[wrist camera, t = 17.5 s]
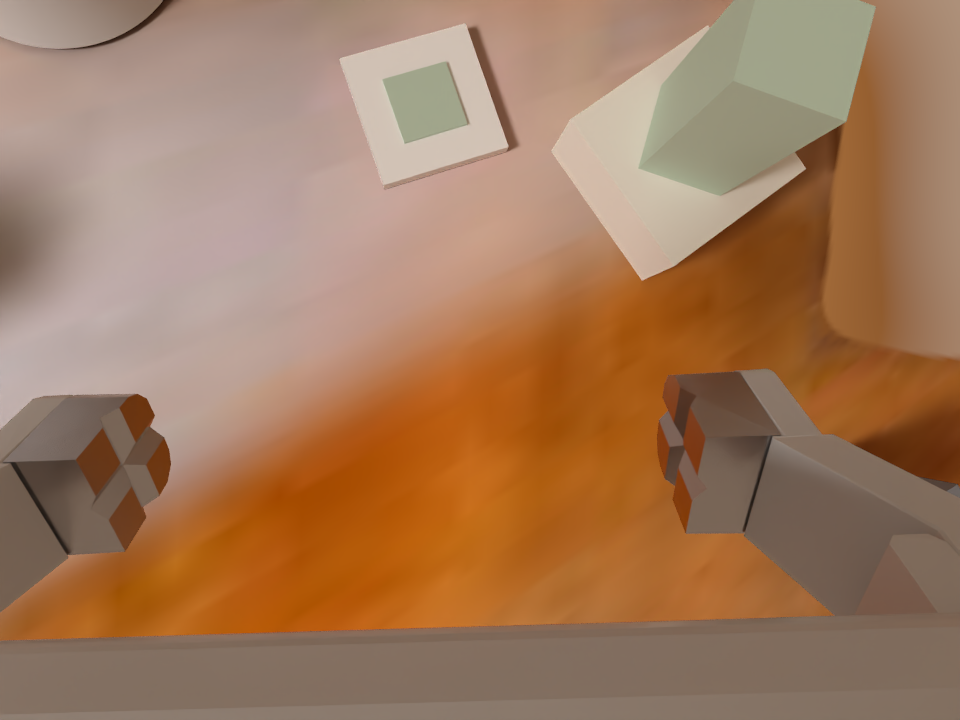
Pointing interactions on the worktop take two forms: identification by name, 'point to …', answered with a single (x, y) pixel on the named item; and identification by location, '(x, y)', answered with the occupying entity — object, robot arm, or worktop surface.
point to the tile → (424, 105)
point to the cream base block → (651, 175)
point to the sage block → (757, 90)
